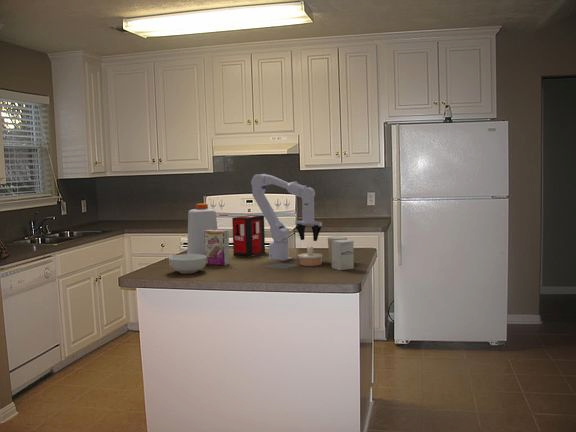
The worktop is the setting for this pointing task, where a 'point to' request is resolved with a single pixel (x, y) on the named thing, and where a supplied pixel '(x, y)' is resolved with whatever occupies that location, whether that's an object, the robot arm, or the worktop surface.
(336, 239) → the coffee cup
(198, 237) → the plastic bottle
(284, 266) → the mat
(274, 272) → the worktop surface
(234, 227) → the cleaning product box
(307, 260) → the ramekin
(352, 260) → the supplement box
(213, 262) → the candy bar box
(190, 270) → the cereal bowl
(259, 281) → the worktop surface
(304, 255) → the lid
